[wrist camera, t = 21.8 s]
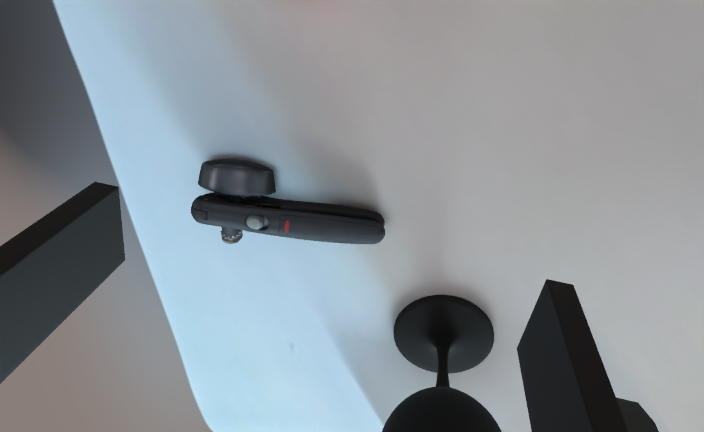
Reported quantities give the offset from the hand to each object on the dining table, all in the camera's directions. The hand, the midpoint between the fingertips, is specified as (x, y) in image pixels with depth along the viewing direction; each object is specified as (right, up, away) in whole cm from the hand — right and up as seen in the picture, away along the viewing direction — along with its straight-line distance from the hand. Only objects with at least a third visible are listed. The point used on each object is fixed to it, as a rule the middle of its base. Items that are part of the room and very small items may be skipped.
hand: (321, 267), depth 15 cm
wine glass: (+10, -11, +37) cm, 40 cm away
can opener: (-4, +3, +32) cm, 33 cm away
